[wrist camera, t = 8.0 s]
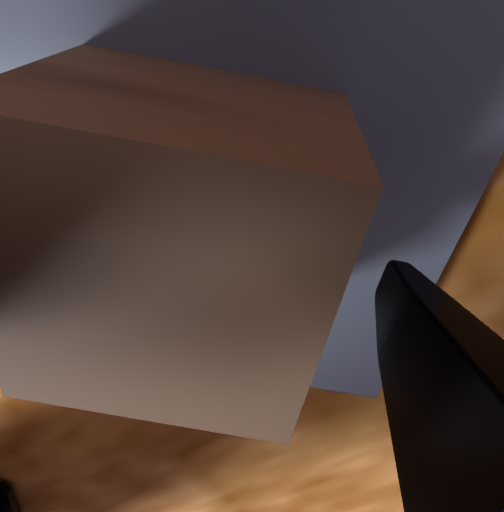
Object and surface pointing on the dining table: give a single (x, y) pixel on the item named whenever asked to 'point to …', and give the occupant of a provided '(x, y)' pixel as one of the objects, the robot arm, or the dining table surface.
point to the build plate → (360, 99)
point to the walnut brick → (174, 238)
